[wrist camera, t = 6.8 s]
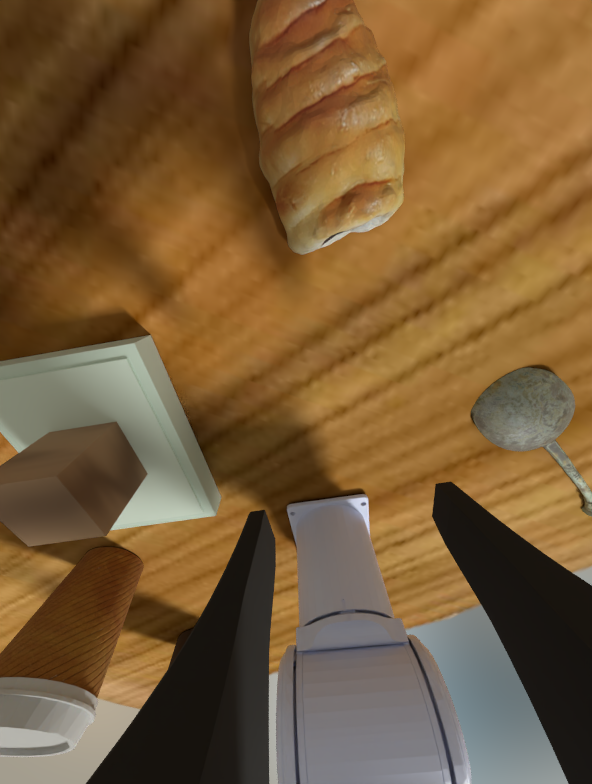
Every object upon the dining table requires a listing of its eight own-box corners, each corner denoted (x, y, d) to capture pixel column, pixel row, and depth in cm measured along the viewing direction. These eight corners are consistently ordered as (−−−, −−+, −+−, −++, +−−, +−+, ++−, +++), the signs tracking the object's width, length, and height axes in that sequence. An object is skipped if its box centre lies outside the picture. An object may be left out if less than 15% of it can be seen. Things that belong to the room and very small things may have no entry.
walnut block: (147, 473, 19) (106, 536, 15) (87, 482, 20) (28, 546, 15) (116, 421, 17) (56, 476, 13) (48, 432, 17) (-35, 489, 13)
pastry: (215, 49, 11) (185, -47, 8) (358, -40, 10) (395, -193, 7) (294, 265, 15) (297, 264, 12) (402, 215, 14) (439, 198, 11)
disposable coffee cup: (51, 541, 26) (-113, 731, 15) (140, 533, 26) (36, 719, 15) (93, 588, 30) (-12, 762, 20) (169, 581, 30) (105, 753, 20)
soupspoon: (525, 344, 19) (447, 397, 21) (566, 359, 16) (471, 419, 18) (620, 488, 26) (552, 516, 28) (661, 518, 23) (582, 547, 25)
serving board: (221, 497, 24) (215, 517, 22) (103, 513, 24) (87, 535, 22) (150, 334, 17) (132, 343, 15) (-15, 363, 17) (-54, 376, 15)
